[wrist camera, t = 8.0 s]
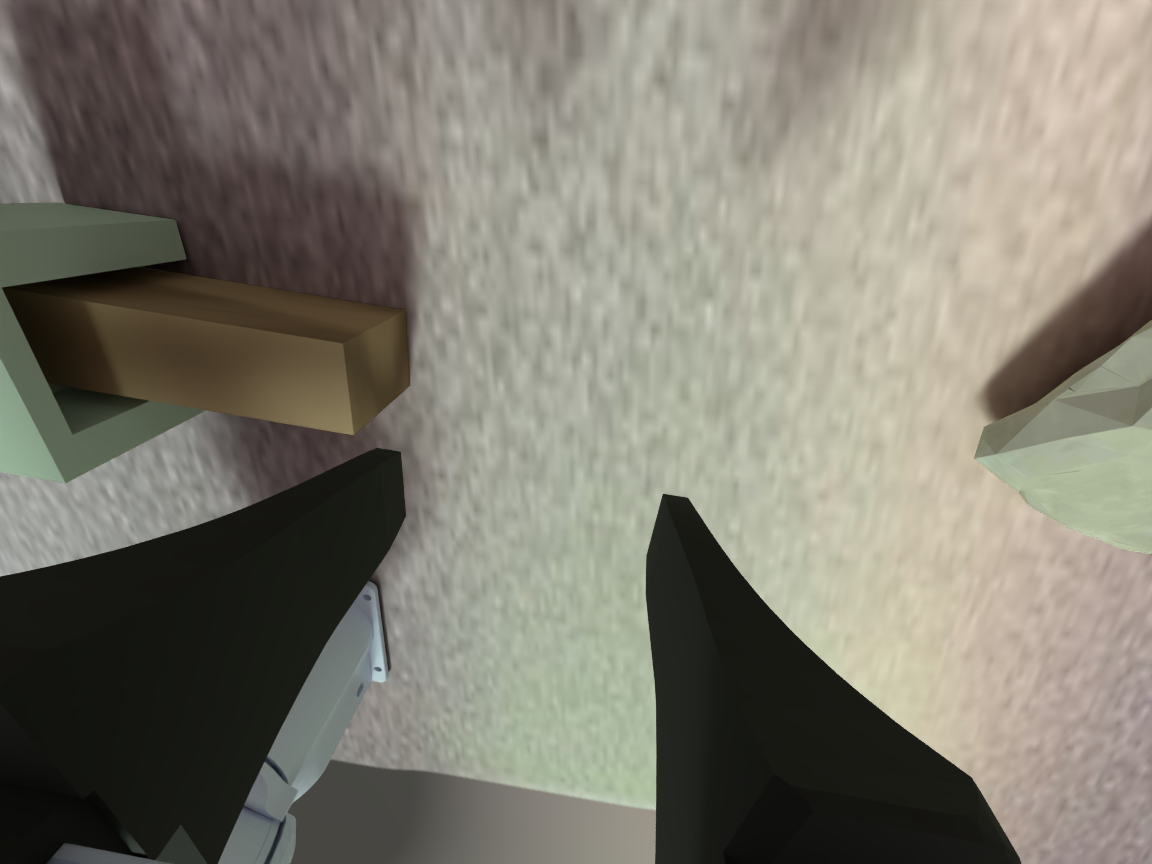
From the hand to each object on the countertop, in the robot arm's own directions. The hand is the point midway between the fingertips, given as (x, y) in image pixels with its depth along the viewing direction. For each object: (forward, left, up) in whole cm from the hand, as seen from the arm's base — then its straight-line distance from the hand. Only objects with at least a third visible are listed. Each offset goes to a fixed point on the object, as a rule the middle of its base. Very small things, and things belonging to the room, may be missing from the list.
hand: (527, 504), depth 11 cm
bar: (0, +13, -10) cm, 16 cm away
